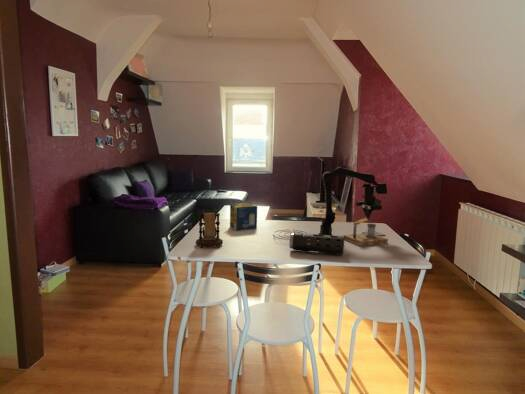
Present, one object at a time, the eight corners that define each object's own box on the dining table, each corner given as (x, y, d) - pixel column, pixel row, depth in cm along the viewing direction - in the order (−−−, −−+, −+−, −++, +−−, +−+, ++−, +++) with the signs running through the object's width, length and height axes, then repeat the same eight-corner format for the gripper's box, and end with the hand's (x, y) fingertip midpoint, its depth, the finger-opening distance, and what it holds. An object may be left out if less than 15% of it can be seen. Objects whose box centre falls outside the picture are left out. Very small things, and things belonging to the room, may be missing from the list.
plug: (369, 242, 223) (371, 225, 222) (364, 239, 228) (365, 223, 226) (376, 241, 225) (377, 225, 224) (371, 239, 230) (372, 223, 228)
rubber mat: (372, 236, 236) (372, 235, 236) (362, 232, 245) (362, 232, 245) (384, 235, 240) (384, 234, 239) (374, 231, 249) (374, 230, 249)
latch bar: (355, 238, 220) (356, 223, 219) (352, 237, 221) (353, 222, 220) (367, 232, 236) (368, 217, 234) (364, 231, 237) (365, 217, 235)
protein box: (229, 227, 251) (229, 204, 249) (250, 225, 258) (250, 203, 256) (236, 230, 242) (236, 207, 240) (257, 228, 249) (257, 205, 247)
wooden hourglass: (197, 250, 200) (197, 213, 197) (194, 242, 214) (194, 207, 211) (224, 248, 204) (225, 212, 200) (220, 241, 218) (220, 207, 214)
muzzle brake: (343, 258, 193) (344, 238, 191) (288, 253, 198) (289, 234, 197) (342, 252, 202) (344, 233, 200) (291, 248, 208) (291, 230, 206)
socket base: (359, 246, 214) (360, 242, 213) (343, 239, 228) (343, 235, 228) (387, 243, 222) (387, 239, 221) (369, 236, 236) (370, 232, 236)
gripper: (390, 195, 225) (388, 220, 227) (369, 191, 242) (368, 215, 244) (374, 196, 221) (374, 222, 223) (355, 192, 238) (354, 216, 240)
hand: (368, 219), depth 232 cm, fingers closed
